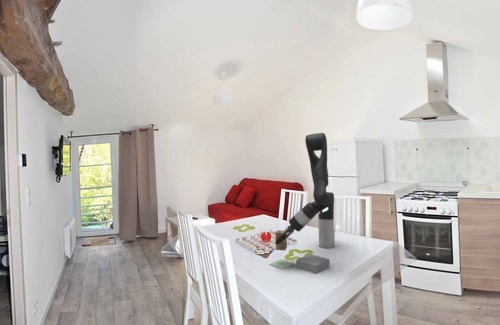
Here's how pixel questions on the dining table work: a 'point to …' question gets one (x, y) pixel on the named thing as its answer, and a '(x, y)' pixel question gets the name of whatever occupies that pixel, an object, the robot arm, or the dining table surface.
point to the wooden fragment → (265, 254)
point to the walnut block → (283, 244)
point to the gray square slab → (312, 263)
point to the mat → (281, 264)
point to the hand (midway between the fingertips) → (277, 241)
